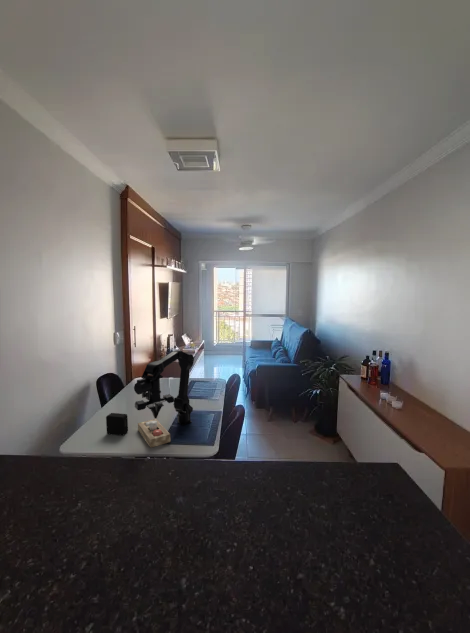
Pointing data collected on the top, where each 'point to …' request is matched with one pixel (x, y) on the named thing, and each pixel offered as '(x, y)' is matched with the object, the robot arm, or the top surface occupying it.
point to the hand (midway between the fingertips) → (155, 418)
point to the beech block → (149, 436)
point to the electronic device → (117, 424)
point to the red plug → (157, 432)
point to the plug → (152, 425)
